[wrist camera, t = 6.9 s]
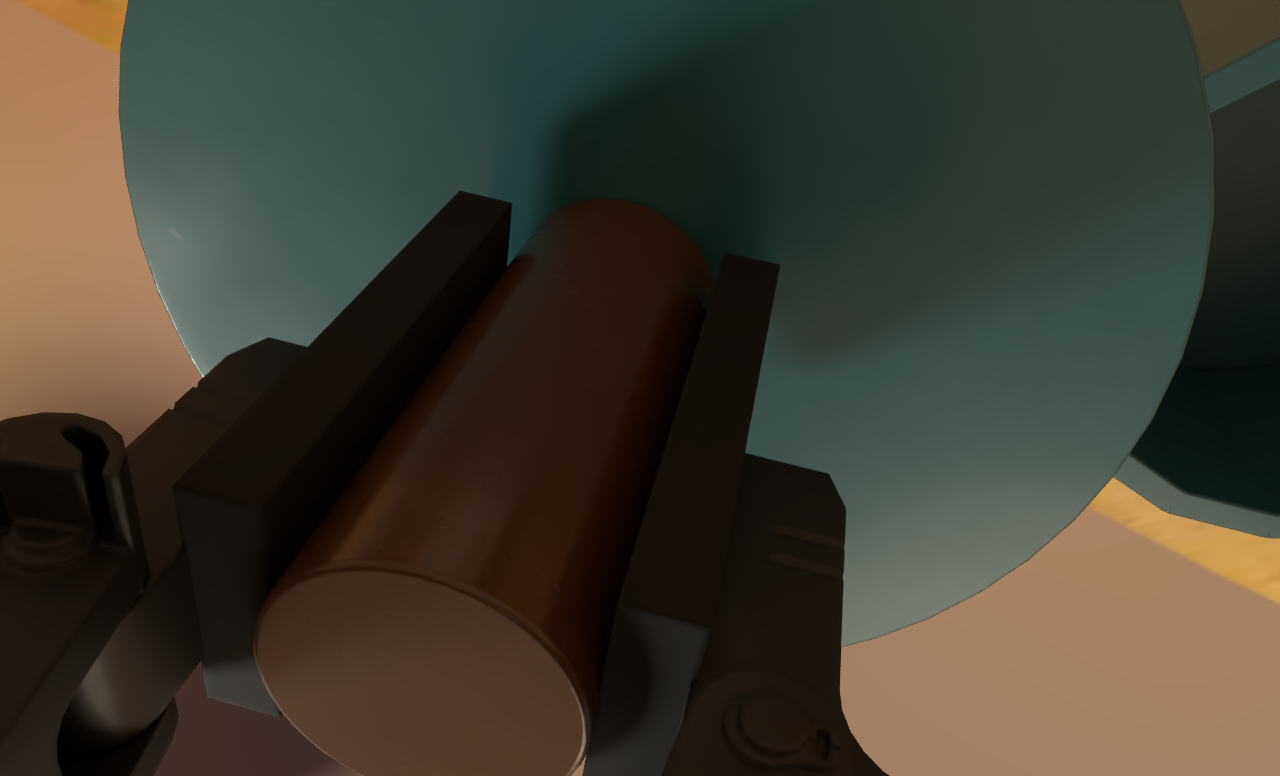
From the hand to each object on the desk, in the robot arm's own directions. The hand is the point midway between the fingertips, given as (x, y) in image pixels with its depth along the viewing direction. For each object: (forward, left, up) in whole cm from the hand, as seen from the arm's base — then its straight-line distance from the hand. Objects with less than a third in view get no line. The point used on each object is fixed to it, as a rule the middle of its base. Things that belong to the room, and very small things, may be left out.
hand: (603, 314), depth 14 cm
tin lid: (0, 0, -1) cm, 1 cm away
